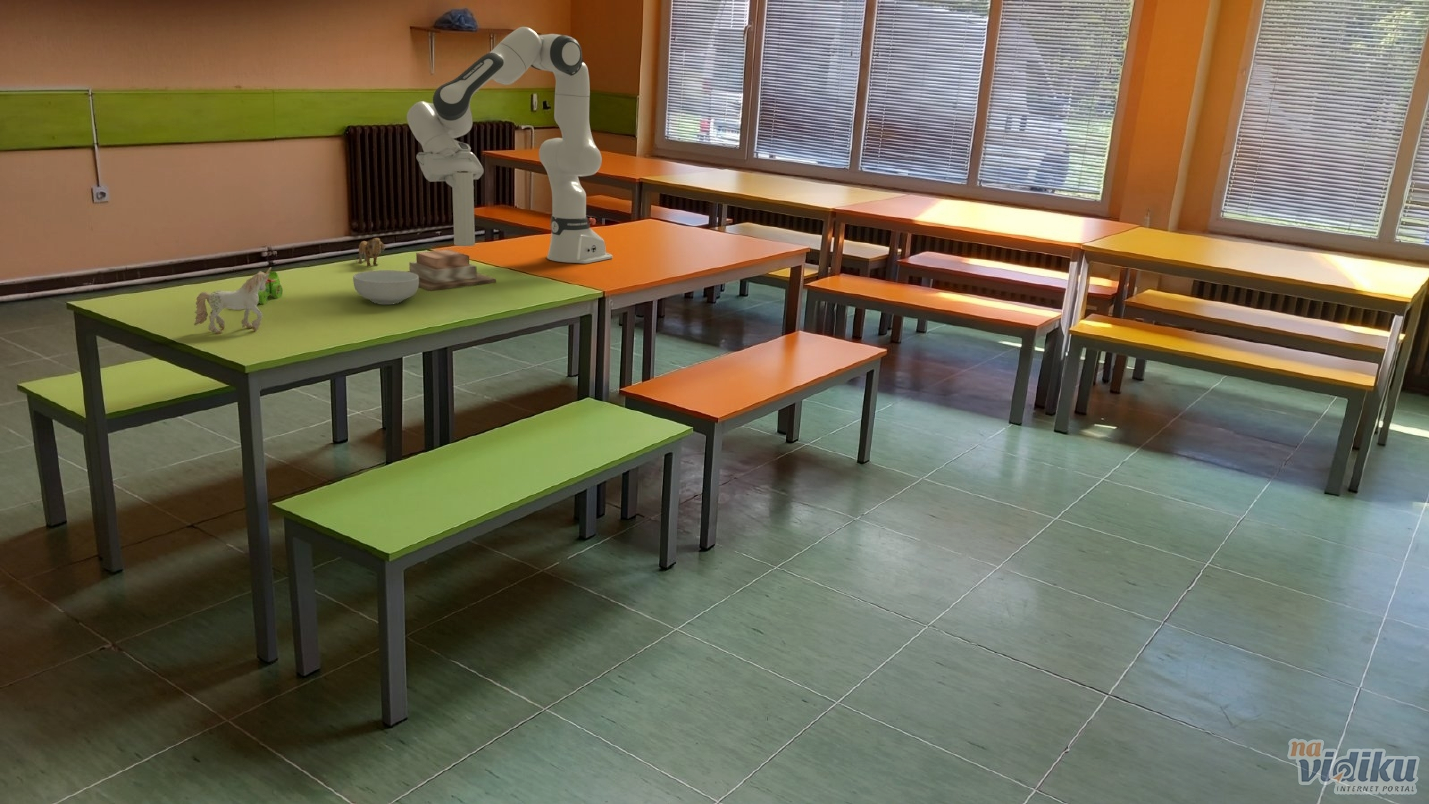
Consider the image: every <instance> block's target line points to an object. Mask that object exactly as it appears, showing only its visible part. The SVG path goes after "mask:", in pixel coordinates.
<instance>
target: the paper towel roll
mask: <svg viewBox="0 0 1429 804" xmlns="http://www.w3.org/2000/svg"><path fill="white" fill-rule="evenodd" d="M452 176H453V180H454V181H455V182H456V184H457V185H458V187H459V190H458V191H457V192H455V190H454V189H453V187H451V188H452V189H451V190H452V213H453V215H452V217H453V243H454V246H457V247H472V246H475V245H476V235H475V234H476V233H475V232H476V231H475V230H476V229H475V227H476V226H475V201H474V200H475V197H474V196H475V195H474V192H475V191H474V189H473V186H474V179H473V172H468V171H461V172H458V171H457V172H453V175H452Z"/></svg>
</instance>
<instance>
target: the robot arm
mask: <svg viewBox="0 0 1429 804" xmlns="http://www.w3.org/2000/svg"><path fill="white" fill-rule="evenodd" d="M582 51H583V50H582V47H581V45H580V43H579V41H578V40H576V39H575V37H572V36H569V35H567V34H566V35H565V34H556V33H549V34H541V33H540V34H537V32H536V31H535V30H533V29H532V28H530V27H527V26H520V27H517V29H514V30H513V31H511V32H510V33H508V35H506V36H505V37H504V38H502V40H501V41H500V42H499V43H497V45H496V46H494V48H493V49H492V50H491V51H489V52H488V53H486V54H484V55H482V56H481V57H480V58H478V59H477V60H476V61H475V62H474V63H472V64H471V65H470V66H469V67H468V68H467V69H465V70H464V71H463V72H461V74H460V75H458V76H457V77H455V78H454V79H453V80H450V81H447V82H445V83H443V84H442V85H439V87H437V89H436V90H435V91H434V93H433V96H432V102H431V103H430V102H427V101H423V100H421V101H418V102H416V103H414V104H413V105H412V106H411V107H409V110H408V111H407V114H406V122H407V124H408V126H409V129H410V130H411V132H412V134H413V136H414V138H415V139H416V141H418V143H419V144H420V146H421V148H422V151H420V152H417V154H416V156H415V157H416V160H417V162H418V164H419V167H420V169H421V172H422V174H423V176H424V178H425V179H426V180H427V181H428V182H430V183H431V182H445V183H446V184H447V185H449V187H451V188H452V187H453V189H454V190H455V192H457V191H458V190H459V187H458V185H457V184H456V182H455V181H454V180H453V176H452V175H453V172H457V171H458V172H461V171H468V172H473V180H479V179H480V178H481V177H482V175H484V170H485V169H484V167H483V165H482V164H481V162H480V160H479V158H478V157H477V156H476V155H475V153H473V152H472V151H471V149H472V148H471V146H470V144H468V143H465V142H461V141H459V140H456V139H457V138H458V139H459V138H461V137H463V136H466V135H467V134H468V133H469V132H471V130H472V128H473V126H474V125H473V123H474V121H473V115H472V110H471V100H472V97H473V96H474V95H475V94H476V93H477V92H478V91H479V90H480V89H481V88H482V87H484V85H485V84H487V83H488V82H489V81H491V80H493V81H494V82H496V83H497V84H500V85H505V86H508V85H509V86H510V85H512V84H513V83H515V82H517V81H518V80H519V79H520V78H521V77H522V76H523V75H524V74H525V73H526V72H527V71H528V69H529V68H530V67H531V68H534V69H535V70H538V71H547V72H552V73H553V75H554V78H555V90H554V110H553V111H554V112H553V113H554V114H553V115H554V117H553V118H554V121H555V123H556V125H558V127H559V129H560V133H561V137H553V138H549V139H546V140H544V142H542V143H541V145H540V147H539V150H538V158H539V161H540V163H541V164H542V165H543V167H544V169H545V171H546V173H547V176H548V180H549V183H550V188H551V189H550V190H551V198H552V199H551V201H552V203H551V205H552V206H551V207H552V209H551V211H552V212H551V213H552V215H551V217H550V231H551V233H550V234H551V236H550V244H549V248H548V249H549V250H548V254H547V256H546V259H547V260H550V261H553V262H559V263H574V264H575V263H576V264H590V263H594V262H599V261H600V262H601V261H605V260H606V261H607V260H611V259H613V255H612V254H611V253H609V252H607V251H606V243H605V240H604V239H603V237H601V236H600V235H599V234H598V233H597V232H595V230H593V229H592V228H591V226H590V225H592V226H593V225H596V222H597V220H596V219H595V218H592V217H589V218H588V216H587V193H586V191H585V189H584V188H583V187H582V185H581V182H580V179H579V177H588V176H593V175H595V174H596V173H597V172H598V171H599V170H600V168H601V166H602V161H603V160H602V159H603V158H602V154H601V151H600V149H599V148H598V147H597V145H596V143H595V141H594V138H593V135H592V132H591V131H592V130H591V126H590V97H591V96H590V95H591V91H590V90H591V89H590V86H591V85H590V74H589V69H588V66H587V65H586V63H585V62H583V61H584V60H583V59H584V58H583V53H582ZM474 189H475V187H474V185H473V190H474Z"/></svg>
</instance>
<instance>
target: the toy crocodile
mask: <svg viewBox="0 0 1429 804" xmlns="http://www.w3.org/2000/svg"><path fill="white" fill-rule="evenodd" d="M269 273H270V275H269V276H268V279H267V282H266V283H265V287H266V290H264V291H260V289H259V292H258V297H259V301H258V304H259V303H260V304H259V305H265V304H267V301H268V297H269V296H271V297H272V298H274V299H281V298H282V297H283V296H282V295H283V290H284V289H283V286H282V284H281V283H280V277H279V274H278V273H277V272H276V271H270V272H269ZM269 273H268V274H269ZM264 303H265V304H264Z"/></svg>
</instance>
